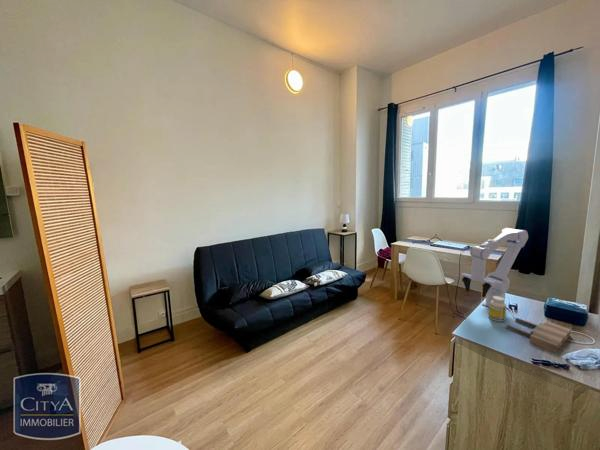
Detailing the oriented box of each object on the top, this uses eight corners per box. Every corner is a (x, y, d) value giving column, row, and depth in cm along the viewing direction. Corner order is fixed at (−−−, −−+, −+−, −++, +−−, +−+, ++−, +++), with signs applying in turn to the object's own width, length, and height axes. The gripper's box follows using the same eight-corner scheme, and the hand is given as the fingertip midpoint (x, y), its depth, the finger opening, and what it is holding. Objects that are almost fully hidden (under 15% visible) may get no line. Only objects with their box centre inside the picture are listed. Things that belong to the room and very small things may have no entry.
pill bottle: (498, 315, 126) (501, 295, 124) (507, 322, 120) (510, 301, 118) (485, 315, 126) (487, 295, 125) (493, 321, 120) (496, 300, 119)
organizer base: (519, 318, 123) (520, 312, 123) (570, 335, 108) (571, 329, 108) (502, 331, 113) (503, 325, 112) (555, 352, 98) (556, 345, 98)
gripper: (459, 267, 132) (457, 290, 134) (491, 275, 120) (488, 301, 122) (465, 264, 135) (463, 287, 138) (497, 272, 123) (494, 297, 125)
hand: (475, 293), depth 130 cm, fingers open, 7 cm apart
